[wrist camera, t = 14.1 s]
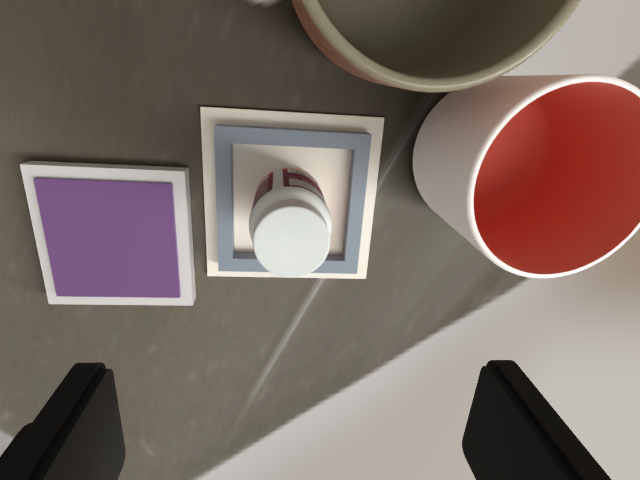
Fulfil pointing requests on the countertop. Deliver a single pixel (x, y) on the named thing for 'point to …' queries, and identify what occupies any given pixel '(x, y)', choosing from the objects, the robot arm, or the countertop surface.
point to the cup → (535, 169)
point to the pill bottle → (290, 223)
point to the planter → (431, 38)
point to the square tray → (288, 151)
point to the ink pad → (112, 232)
